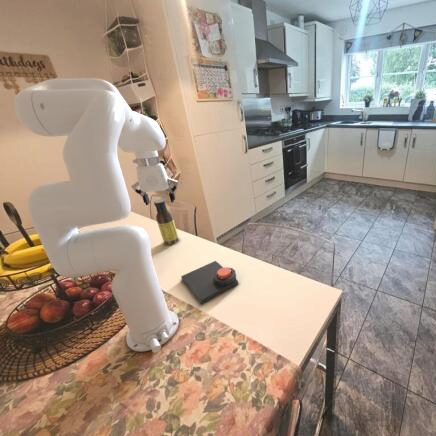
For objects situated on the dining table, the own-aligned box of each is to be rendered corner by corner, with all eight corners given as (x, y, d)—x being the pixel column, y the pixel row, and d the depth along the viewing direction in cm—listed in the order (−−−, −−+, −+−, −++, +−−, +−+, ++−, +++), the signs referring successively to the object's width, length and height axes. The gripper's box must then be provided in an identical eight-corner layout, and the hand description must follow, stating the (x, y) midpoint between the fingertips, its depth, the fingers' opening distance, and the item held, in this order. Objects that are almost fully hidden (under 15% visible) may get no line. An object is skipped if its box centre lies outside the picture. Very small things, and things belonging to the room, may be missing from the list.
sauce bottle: (170, 237, 113) (158, 197, 104) (182, 238, 111) (171, 198, 103) (160, 245, 107) (147, 203, 98) (173, 246, 106) (161, 203, 97)
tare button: (233, 275, 82) (233, 271, 81) (221, 281, 79) (221, 277, 79) (227, 269, 85) (226, 265, 84) (215, 275, 82) (214, 271, 82)
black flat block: (241, 282, 83) (240, 274, 81) (201, 304, 74) (199, 296, 73) (219, 263, 94) (217, 255, 92) (182, 280, 85) (179, 272, 84)
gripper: (120, 165, 89) (134, 208, 96) (170, 162, 92) (181, 203, 100) (127, 161, 95) (140, 201, 103) (174, 157, 99) (184, 197, 106)
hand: (160, 202), depth 101 cm, fingers open, 9 cm apart
